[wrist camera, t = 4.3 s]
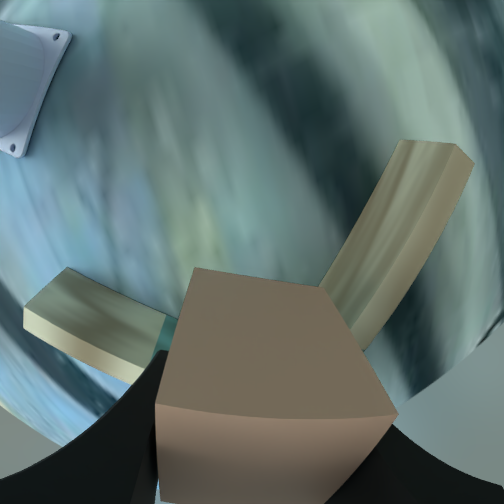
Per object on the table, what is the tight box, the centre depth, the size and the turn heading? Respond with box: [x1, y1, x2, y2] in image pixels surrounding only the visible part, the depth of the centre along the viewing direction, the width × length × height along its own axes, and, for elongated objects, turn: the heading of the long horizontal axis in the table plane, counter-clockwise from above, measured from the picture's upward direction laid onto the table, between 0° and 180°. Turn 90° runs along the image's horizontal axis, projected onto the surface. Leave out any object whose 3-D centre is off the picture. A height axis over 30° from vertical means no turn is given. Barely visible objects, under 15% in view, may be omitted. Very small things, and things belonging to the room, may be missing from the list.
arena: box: [23, 140, 475, 385], centre depth 13 cm, size 16×17×5 cm
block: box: [155, 267, 398, 504], centre depth 8 cm, size 4×4×6 cm
